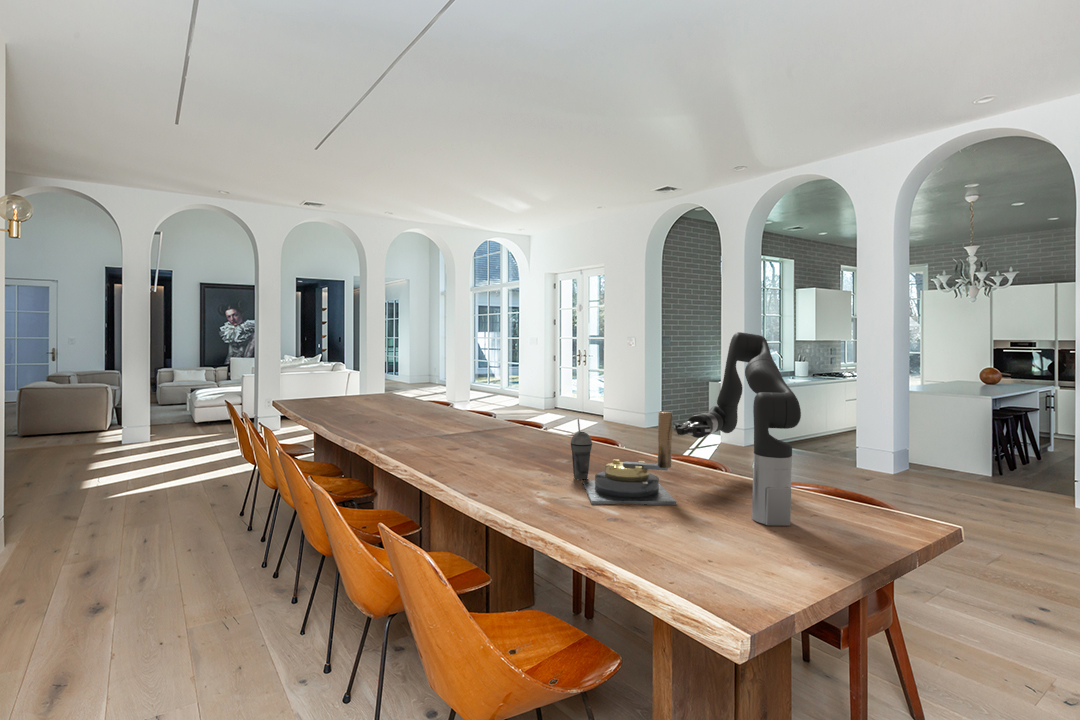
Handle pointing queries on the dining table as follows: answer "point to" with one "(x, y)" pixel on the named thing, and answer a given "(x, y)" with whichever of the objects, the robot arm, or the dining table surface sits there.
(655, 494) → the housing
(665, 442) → the brass crank handle
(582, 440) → the beverage cup
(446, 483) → the dining table surface
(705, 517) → the dining table surface
